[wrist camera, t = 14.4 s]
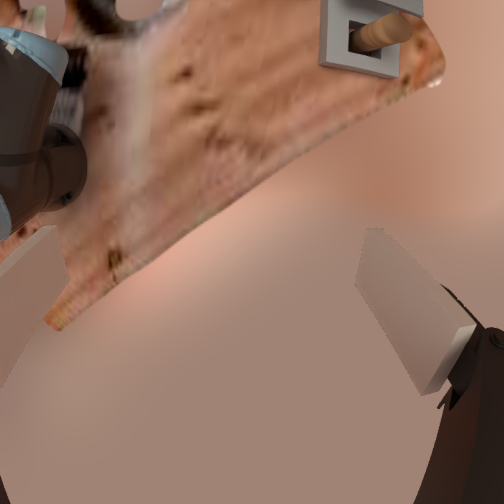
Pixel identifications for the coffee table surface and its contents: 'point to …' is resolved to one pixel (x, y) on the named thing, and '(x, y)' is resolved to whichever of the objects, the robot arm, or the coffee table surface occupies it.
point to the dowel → (379, 34)
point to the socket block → (356, 16)
